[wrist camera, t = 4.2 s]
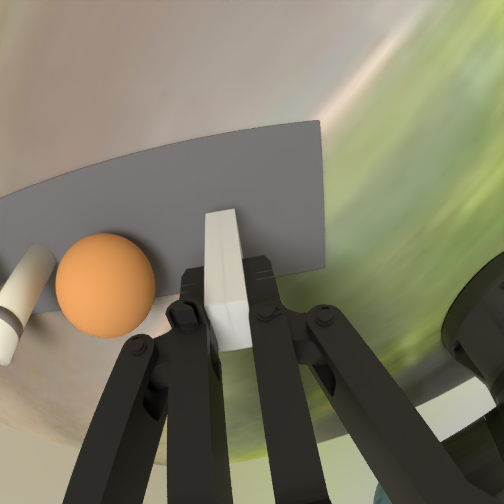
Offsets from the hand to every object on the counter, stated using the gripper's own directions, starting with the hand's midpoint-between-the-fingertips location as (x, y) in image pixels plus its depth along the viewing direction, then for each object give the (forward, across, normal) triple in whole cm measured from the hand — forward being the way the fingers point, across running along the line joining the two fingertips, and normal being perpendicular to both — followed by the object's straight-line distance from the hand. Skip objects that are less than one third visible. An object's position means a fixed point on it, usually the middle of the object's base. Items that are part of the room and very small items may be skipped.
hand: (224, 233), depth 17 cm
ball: (-1, +7, +2) cm, 8 cm away
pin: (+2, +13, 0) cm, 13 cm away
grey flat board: (+2, +8, 0) cm, 8 cm away
